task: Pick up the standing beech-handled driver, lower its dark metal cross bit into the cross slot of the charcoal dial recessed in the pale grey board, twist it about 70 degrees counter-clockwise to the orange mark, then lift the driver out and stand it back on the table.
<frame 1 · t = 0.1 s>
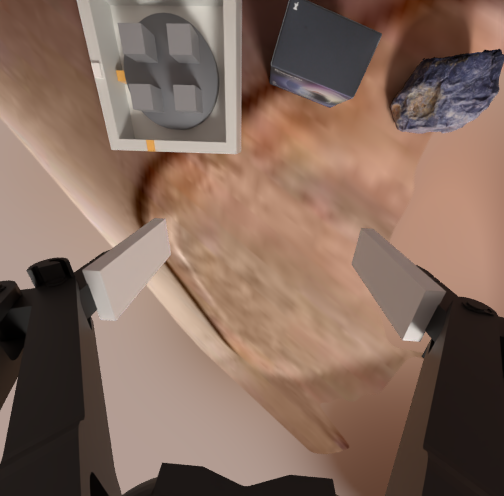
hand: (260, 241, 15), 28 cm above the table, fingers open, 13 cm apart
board: (181, 83, 35), on the table
small box: (307, 74, 33), on the table
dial: (163, 75, 30), point 5 cm above the table, hinge at 0.0°
rock: (422, 101, 34), on the table
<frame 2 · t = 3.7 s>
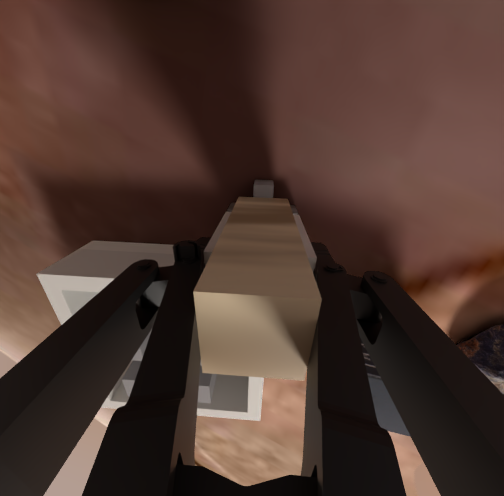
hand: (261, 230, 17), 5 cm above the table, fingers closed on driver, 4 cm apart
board: (189, 313, 28), on the table
small box: (349, 312, 26), on the table
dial: (168, 347, 23), point 5 cm above the table, hinge at 0.0°
driver: (262, 212, 21), on the table, touching gripper
rock: (493, 340, 27), on the table
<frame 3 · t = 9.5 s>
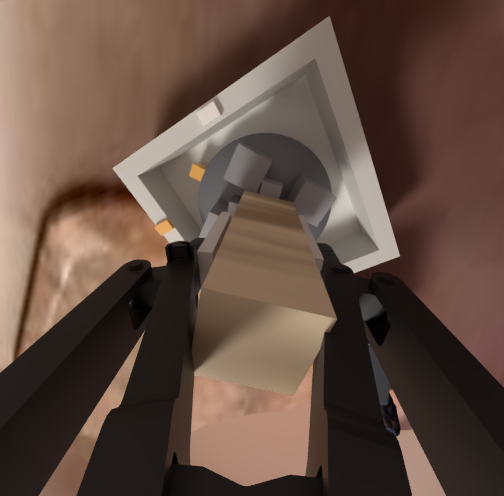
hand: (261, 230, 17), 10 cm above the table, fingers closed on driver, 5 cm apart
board: (264, 196, 26), on the table
small box: (333, 308, 33), on the table
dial: (258, 206, 21), point 5 cm above the table, hinge at 35.0°
driver: (263, 210, 21), point 6 cm above the table, touching gripper
rock: (351, 382, 40), on the table
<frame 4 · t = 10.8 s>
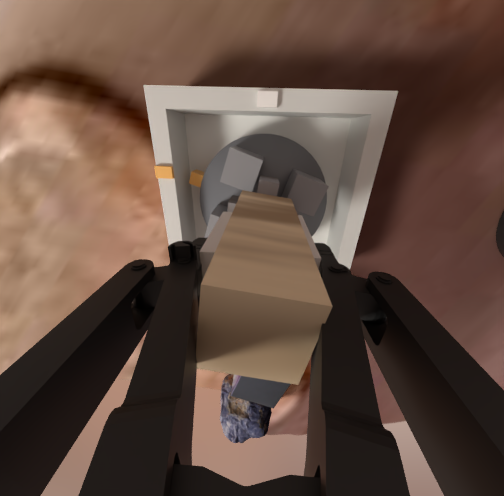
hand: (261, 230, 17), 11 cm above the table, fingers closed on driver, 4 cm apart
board: (262, 194, 27), on the table
small box: (266, 315, 36), on the table
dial: (256, 204, 22), point 5 cm above the table, hinge at 71.9°
driver: (262, 209, 21), point 6 cm above the table, touching gripper
rock: (245, 382, 44), on the table
when the fingers open (6 cm above the table, at t = 15.7 s): driver drops 2 cm, on the table.
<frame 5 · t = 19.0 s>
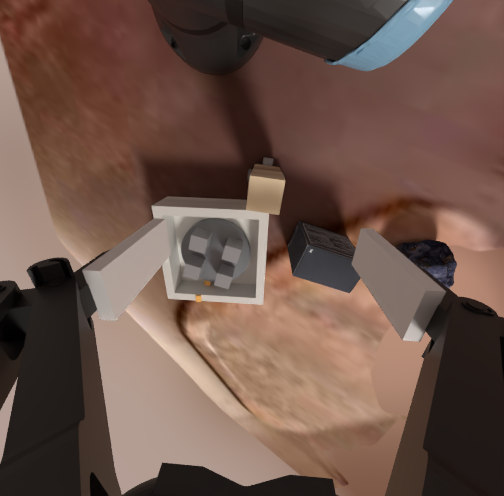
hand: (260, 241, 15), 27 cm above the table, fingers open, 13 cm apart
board: (219, 244, 45), on the table
small box: (316, 242, 44), on the table
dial: (213, 258, 41), point 5 cm above the table, hinge at 74.3°
driver: (265, 175, 39), on the table
rock: (403, 259, 45), on the table
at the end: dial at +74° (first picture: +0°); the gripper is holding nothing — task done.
